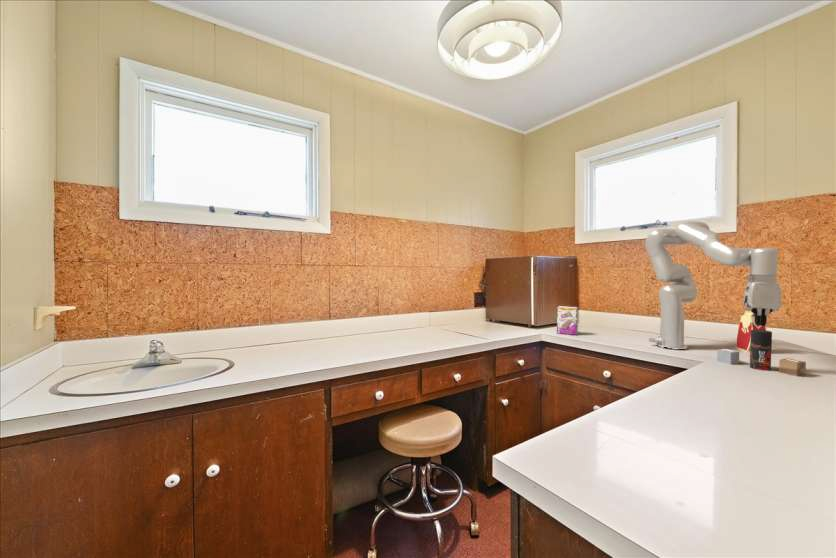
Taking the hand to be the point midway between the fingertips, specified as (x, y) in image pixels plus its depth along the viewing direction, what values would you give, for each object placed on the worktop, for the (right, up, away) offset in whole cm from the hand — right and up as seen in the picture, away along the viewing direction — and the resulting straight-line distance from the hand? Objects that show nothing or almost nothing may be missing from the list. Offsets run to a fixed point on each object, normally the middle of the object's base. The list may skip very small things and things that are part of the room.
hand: (760, 325), depth 135 cm
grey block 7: (-5, -17, +9) cm, 20 cm away
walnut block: (+6, -18, -6) cm, 20 cm away
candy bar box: (-47, -15, +69) cm, 84 cm away
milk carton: (+23, -16, +27) cm, 38 cm away
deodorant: (0, -18, 0) cm, 18 cm away
